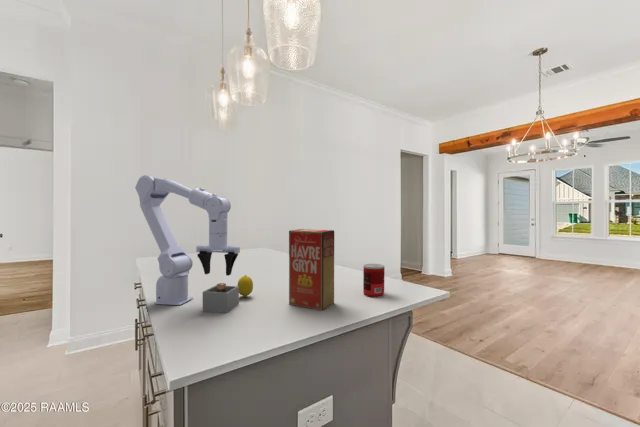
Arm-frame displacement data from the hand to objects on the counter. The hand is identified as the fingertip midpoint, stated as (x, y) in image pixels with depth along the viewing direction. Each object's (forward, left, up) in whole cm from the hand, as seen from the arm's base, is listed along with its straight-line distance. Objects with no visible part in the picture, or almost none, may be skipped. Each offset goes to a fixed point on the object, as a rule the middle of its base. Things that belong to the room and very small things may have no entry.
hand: (217, 274), depth 98 cm
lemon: (+6, +10, -10) cm, 15 cm away
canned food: (+52, +22, -10) cm, 57 cm away
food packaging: (+31, +7, -10) cm, 33 cm away
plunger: (+3, -2, -9) cm, 10 cm away
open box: (+2, -2, -10) cm, 11 cm away
